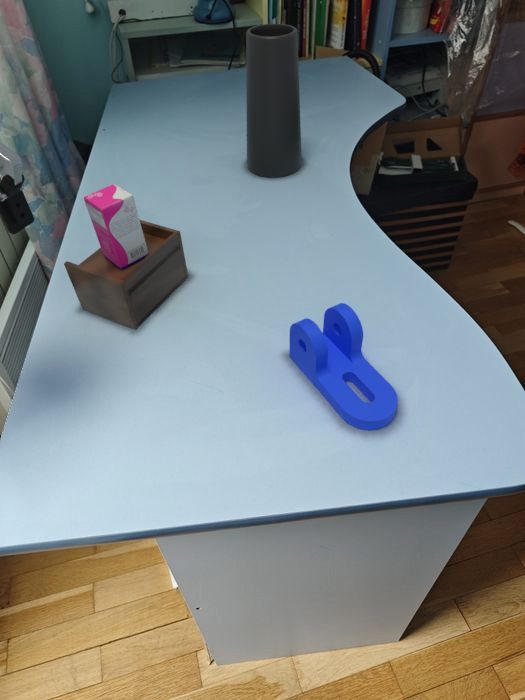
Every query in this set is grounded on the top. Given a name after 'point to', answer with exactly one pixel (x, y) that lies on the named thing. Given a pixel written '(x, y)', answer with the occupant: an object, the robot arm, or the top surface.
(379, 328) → the top surface
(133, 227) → the supplement box
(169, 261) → the wooden crate
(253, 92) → the vase
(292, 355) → the bracket
